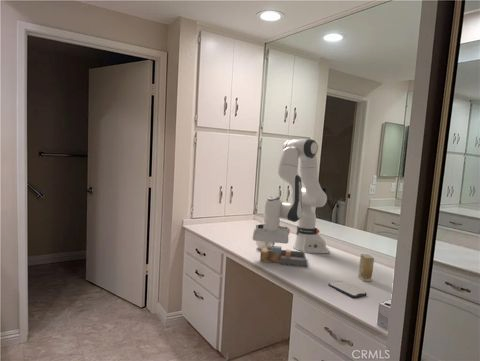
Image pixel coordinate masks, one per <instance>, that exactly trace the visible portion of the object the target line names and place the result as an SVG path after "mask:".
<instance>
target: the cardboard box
mask: <svg viewBox="0 0 480 361" xmlns="http://www.w3.org/2000/svg"><path fill="white" fill-rule="evenodd" d="M280 258H281V253H272V250H267V248H264V247H262V248H261V249H260V257H259V261H260V262H264V263H275V264H280Z"/></svg>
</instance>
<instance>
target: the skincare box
mask: <svg viewBox="0 0 480 361" xmlns="http://www.w3.org/2000/svg"><path fill="white" fill-rule="evenodd" d="M374 262H375V257H373V256H371V255H370V254H368V253H367V254H366V253H361V254H360V259H359V268H358V276H357V277H358V278H359V279H360V280H361V281H362V282H365V283H366V282H369V283H372V279H373V278H372V277H373V268H374V264H375V263H374Z"/></svg>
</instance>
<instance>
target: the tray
mask: <svg viewBox="0 0 480 361" xmlns="http://www.w3.org/2000/svg"><path fill="white" fill-rule="evenodd" d="M285 254H286V249H281V258H280V263H279V264H280V265H282V266H291V267H292V266H293V267H301V268H303V267H304V268H307V265H308V264H307V263H308V260H307V257H306V252H303V251H299V250H297V251H295V250H291V255H290V259H288V258H285Z"/></svg>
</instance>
